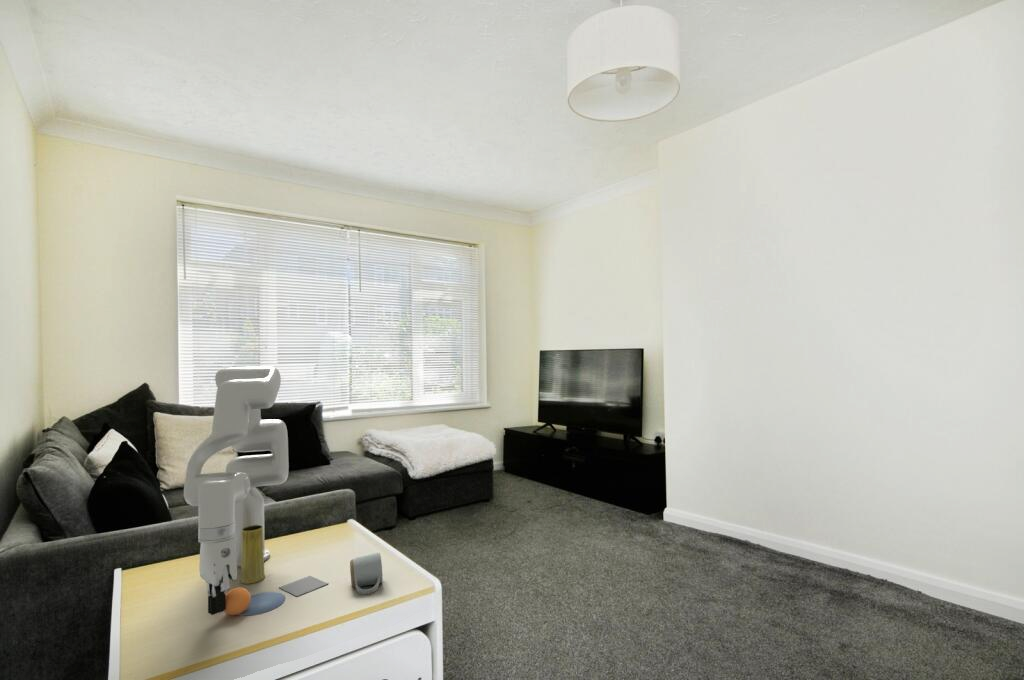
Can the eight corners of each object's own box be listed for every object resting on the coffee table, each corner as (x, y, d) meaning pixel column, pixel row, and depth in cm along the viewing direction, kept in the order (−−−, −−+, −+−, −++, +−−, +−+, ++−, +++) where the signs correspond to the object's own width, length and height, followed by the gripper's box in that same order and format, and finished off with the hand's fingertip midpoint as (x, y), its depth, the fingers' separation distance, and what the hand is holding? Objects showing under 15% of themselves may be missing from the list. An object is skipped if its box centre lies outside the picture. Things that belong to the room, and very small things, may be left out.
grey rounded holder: (349, 581, 142) (349, 553, 142) (380, 576, 145) (379, 548, 145) (352, 598, 132) (351, 568, 132) (385, 592, 135) (384, 562, 135)
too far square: (278, 588, 139) (278, 587, 139) (310, 576, 146) (310, 575, 146) (296, 596, 133) (296, 596, 133) (328, 584, 141) (328, 583, 141)
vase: (269, 576, 147) (269, 525, 147) (252, 585, 141) (251, 532, 141) (252, 574, 149) (252, 523, 149) (235, 582, 143) (234, 530, 143)
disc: (223, 606, 129) (223, 605, 129) (270, 588, 139) (270, 587, 139) (245, 620, 122) (245, 619, 122) (294, 600, 131) (294, 600, 131)
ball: (214, 595, 124) (239, 578, 128) (223, 613, 126) (247, 596, 130) (225, 605, 120) (250, 588, 125) (233, 625, 122) (258, 607, 127)
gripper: (247, 533, 121) (247, 614, 120) (220, 523, 130) (220, 598, 129) (212, 542, 115) (212, 627, 114) (186, 530, 125) (186, 609, 124)
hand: (216, 611), depth 122 cm, fingers closed
